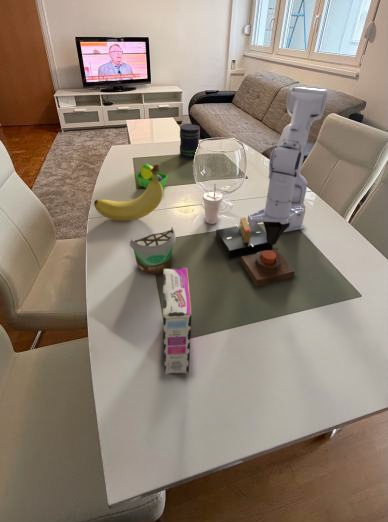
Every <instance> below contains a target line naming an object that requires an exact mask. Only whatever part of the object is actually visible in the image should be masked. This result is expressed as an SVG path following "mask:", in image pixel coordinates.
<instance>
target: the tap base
mask: <svg viewBox="0 0 388 522" xmlns="http://www.w3.org/2000/svg"><path fill="white" fill-rule="evenodd" d="M248 225H249V228H250V231H251V234H250V242H249V243H244V241H243V238H242V235H241V232H240V225H238V224H237V223H236V224H235V225H234V226H229V227H224V228H218V229H216V230H215V238H216V240H217V242H218V243H219V246H220V247H221V248H222V250H223V252H224V253H225V256H226V257H227V258H228V259H235V258H239V257H244V256H248V255H253V254H257V253H258V252H260V251H264V250H270V251H271V250H273V247H274V245H270V244H269V242H268V241H267V234H266V230H265V229H263V228H262V226H261V225H260V223H255V225H254V226H251V225H250V224H249V223H248Z"/></svg>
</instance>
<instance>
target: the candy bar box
mask: <svg viewBox="0 0 388 522" xmlns="http://www.w3.org/2000/svg"><path fill="white" fill-rule="evenodd" d="M162 274H163V275H162V278H163V279H162V320H163V321H162V323H163V324H162V325H163V363H164V364H163V367H164V370H163V372H164V373H163V374H164V375H181V374H182V375H183V374H189V373H190V357H191V356H190V354H191V334H192V303H191V293H190V282H189V271H188V267H176V268H168V269H164V272H162Z"/></svg>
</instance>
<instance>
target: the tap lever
mask: <svg viewBox="0 0 388 522" xmlns="http://www.w3.org/2000/svg"><path fill="white" fill-rule="evenodd" d="M239 220H240V221H239V226H240V232H241V235H242V238H243V241H244V243H249V242H250V234H251V231H250V228H249V225H248V224H249V223H248V222H247V217H240V219H239Z"/></svg>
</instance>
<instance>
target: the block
mask: <svg viewBox="0 0 388 522" xmlns="http://www.w3.org/2000/svg"><path fill="white" fill-rule="evenodd" d="M264 251H265V250H264ZM270 251H273V252H274V253H275V254H276V259H275V263H273V264H266V263H264V262H263V261H262V259H261V257H262V253H263V251H260V252H257V253H253V254H248V255H243V256H241V259H240V264H241V265H242V267H243V269H244V270H245V271H246V273H247V274H248V276H249V278H250V279H251V281H252V282H253V284H254V285H255V287H260V286H264V285H268V284H271V283H272V284H273V283H277V282H280V281H284V280H288V279H293V278H294V277H295V273H296V271H295V270H294V268H293V267H292V266H291V264H289V263H288V261H287V260H286V259H285V258H284V256H282V254H281V253H280V252H279V251H278V249H271V250H270Z"/></svg>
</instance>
